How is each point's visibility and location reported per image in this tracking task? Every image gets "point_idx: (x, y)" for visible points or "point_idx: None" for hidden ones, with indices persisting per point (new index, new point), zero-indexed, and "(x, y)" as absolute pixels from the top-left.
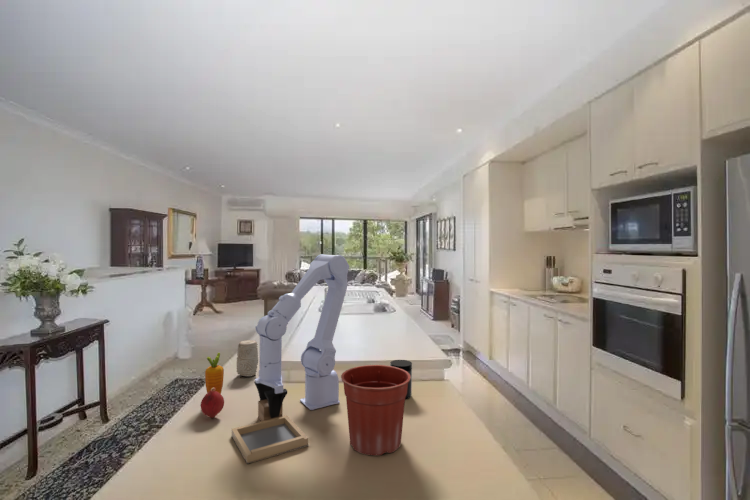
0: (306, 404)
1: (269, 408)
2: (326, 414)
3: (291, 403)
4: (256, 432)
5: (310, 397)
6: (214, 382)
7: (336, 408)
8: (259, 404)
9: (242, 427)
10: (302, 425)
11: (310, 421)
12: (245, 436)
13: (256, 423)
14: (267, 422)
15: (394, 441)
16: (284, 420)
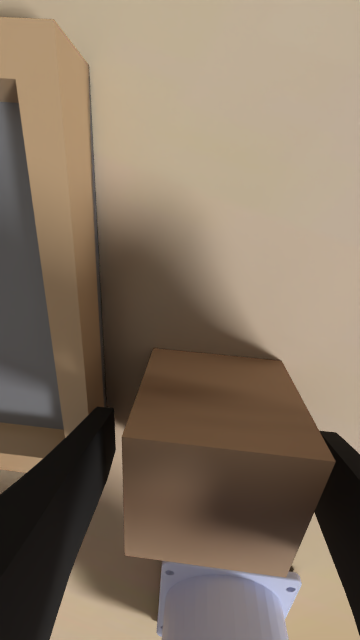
0: (218, 572)
1: (51, 462)
2: (95, 565)
3: (306, 539)
4: (38, 263)
5: (196, 635)
6: None
7: (126, 601)
8: (279, 436)
9: (37, 153)
10: None
11: None
12: (8, 169)
13: (65, 293)
14: (57, 363)
15: None
16: None
